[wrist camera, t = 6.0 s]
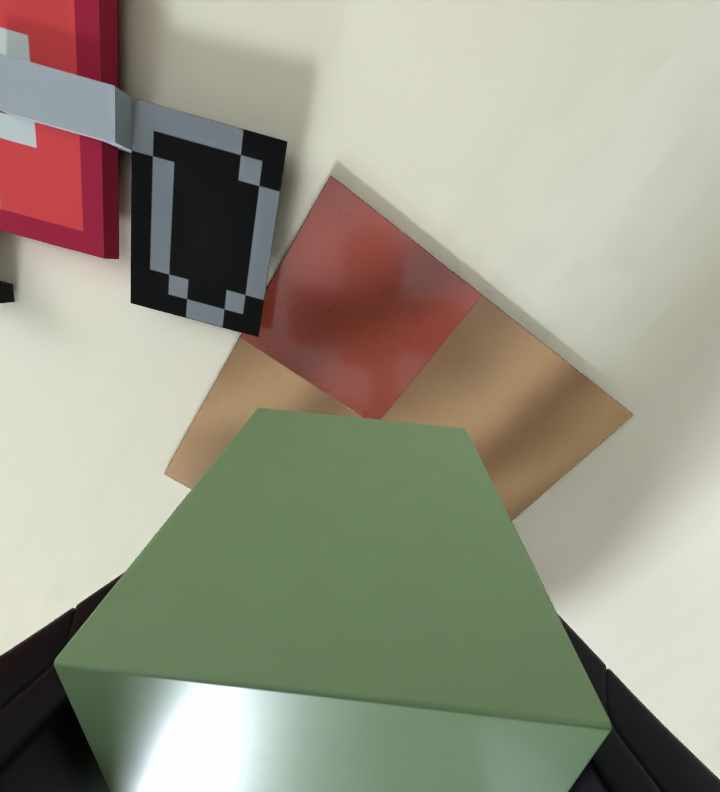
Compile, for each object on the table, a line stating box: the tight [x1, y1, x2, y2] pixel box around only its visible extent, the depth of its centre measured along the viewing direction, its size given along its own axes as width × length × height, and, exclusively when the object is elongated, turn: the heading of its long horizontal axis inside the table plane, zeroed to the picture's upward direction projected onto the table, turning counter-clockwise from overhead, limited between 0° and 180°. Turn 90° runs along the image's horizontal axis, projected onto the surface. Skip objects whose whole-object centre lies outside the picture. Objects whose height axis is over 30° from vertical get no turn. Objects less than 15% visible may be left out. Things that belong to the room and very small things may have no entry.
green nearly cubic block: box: [54, 408, 612, 792], centre depth 6 cm, size 5×5×6 cm
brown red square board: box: [164, 176, 633, 521], centre depth 20 cm, size 20×20×1 cm
